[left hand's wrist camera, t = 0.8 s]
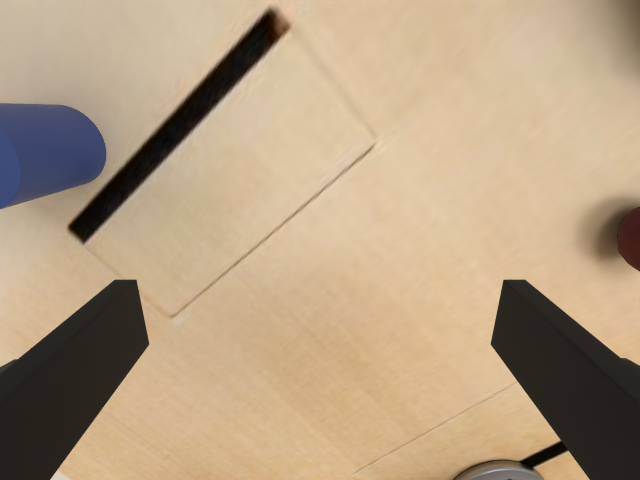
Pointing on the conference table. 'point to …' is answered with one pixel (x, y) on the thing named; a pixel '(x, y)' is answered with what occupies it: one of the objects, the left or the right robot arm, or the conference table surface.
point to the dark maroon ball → (630, 238)
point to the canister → (46, 151)
